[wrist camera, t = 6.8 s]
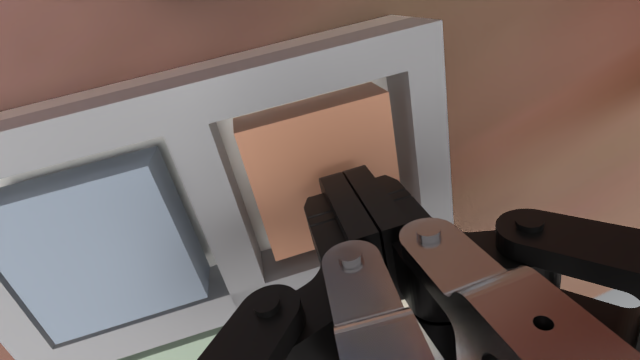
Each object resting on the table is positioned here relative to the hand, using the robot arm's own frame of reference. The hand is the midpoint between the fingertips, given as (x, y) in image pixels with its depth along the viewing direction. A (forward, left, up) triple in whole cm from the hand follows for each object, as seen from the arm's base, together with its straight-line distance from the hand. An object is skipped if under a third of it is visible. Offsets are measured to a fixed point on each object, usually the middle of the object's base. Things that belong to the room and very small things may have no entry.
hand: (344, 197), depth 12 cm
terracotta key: (0, 0, -3) cm, 3 cm away
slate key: (+8, 0, -2) cm, 8 cm away
